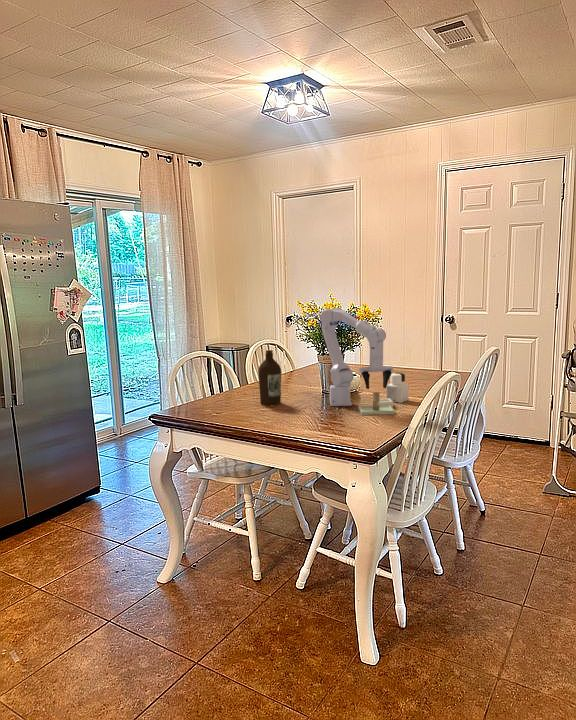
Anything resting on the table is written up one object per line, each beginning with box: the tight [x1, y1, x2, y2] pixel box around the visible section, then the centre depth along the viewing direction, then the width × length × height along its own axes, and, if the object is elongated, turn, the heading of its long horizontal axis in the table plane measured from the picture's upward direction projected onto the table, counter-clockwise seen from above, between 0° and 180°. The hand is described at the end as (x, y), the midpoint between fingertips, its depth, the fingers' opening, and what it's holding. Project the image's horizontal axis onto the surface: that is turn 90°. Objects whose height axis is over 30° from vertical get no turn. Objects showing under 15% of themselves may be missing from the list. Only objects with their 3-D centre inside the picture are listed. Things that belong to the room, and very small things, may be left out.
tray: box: [357, 405, 396, 416], centre depth 232 cm, size 14×10×1 cm
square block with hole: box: [379, 398, 394, 409], centre depth 240 cm, size 7×7×3 cm
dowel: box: [372, 391, 380, 411], centre depth 231 cm, size 3×3×8 cm
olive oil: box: [257, 349, 282, 406], centre depth 248 cm, size 11×11×25 cm
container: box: [385, 372, 410, 404], centre depth 250 cm, size 8×8×13 cm
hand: (376, 388), depth 232 cm, fingers open, 7 cm apart
